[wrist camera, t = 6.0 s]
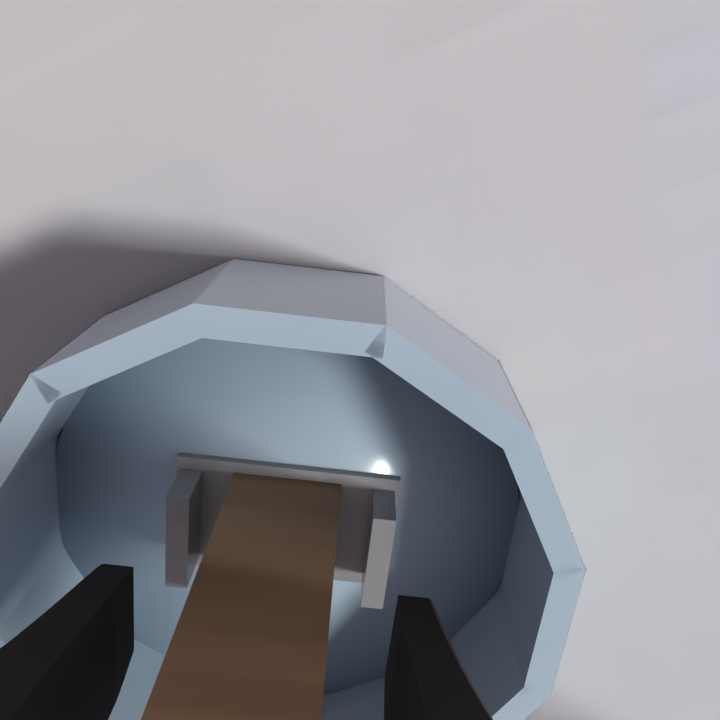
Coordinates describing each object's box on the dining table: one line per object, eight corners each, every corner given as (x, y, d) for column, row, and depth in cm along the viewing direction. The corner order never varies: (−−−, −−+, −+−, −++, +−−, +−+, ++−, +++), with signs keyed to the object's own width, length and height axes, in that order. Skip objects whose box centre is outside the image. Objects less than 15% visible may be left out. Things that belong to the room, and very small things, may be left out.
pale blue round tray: (486, 713, 19) (510, 839, 16) (54, 669, 19) (-14, 788, 16) (586, 299, 15) (647, 354, 12) (26, 234, 15) (-75, 271, 11)
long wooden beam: (331, 571, 17) (303, 875, 10) (229, 561, 17) (135, 858, 10) (341, 484, 16) (318, 754, 9) (234, 472, 16) (134, 736, 9)
